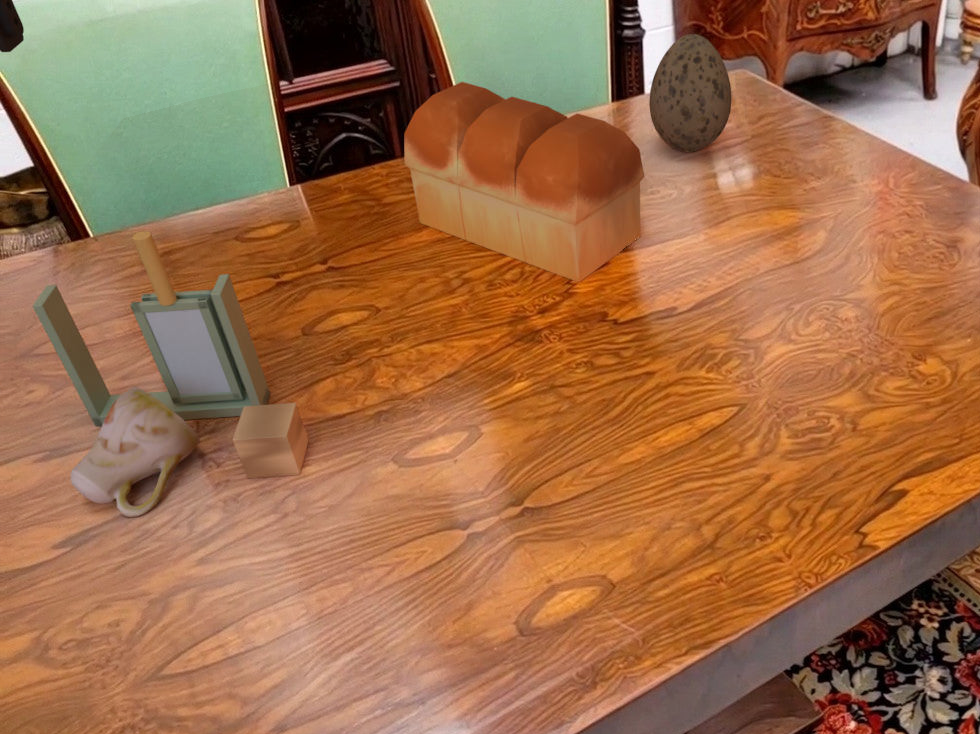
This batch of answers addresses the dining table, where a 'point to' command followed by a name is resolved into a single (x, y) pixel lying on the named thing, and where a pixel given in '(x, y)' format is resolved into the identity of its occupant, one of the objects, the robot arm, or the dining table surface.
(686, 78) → the decorative egg
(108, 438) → the mug
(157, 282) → the window pane
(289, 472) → the block
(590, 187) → the bread
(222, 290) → the window frame
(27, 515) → the dining table surface
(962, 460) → the dining table surface
